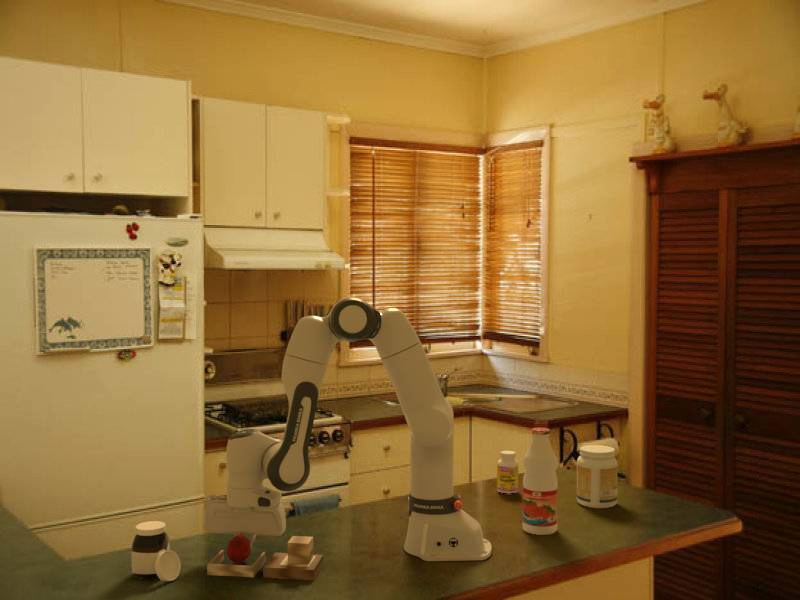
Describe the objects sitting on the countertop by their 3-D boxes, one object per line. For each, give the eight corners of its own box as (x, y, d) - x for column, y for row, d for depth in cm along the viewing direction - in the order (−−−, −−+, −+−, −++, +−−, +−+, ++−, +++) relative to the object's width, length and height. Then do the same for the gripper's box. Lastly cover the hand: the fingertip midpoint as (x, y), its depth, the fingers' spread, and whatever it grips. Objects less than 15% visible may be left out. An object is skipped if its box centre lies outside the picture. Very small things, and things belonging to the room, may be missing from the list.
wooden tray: (323, 565, 206) (323, 554, 206) (313, 580, 196) (313, 569, 196) (221, 559, 209) (221, 549, 209) (207, 574, 199) (207, 563, 199)
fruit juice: (561, 527, 235) (562, 427, 233) (551, 537, 226) (552, 433, 225) (528, 522, 239) (529, 424, 237) (517, 532, 230) (518, 430, 229)
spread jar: (142, 566, 205) (141, 518, 204) (188, 566, 205) (188, 519, 204) (124, 585, 193) (123, 535, 192) (173, 586, 193) (173, 535, 192)
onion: (245, 570, 203) (247, 538, 202) (222, 567, 203) (224, 535, 203) (253, 561, 208) (255, 529, 207) (230, 558, 209) (232, 526, 208)
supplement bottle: (496, 494, 268) (496, 454, 267) (497, 488, 274) (497, 449, 273) (517, 495, 266) (518, 455, 266) (518, 489, 273) (518, 450, 272)
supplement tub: (616, 499, 262) (617, 445, 261) (617, 510, 250) (618, 454, 250) (576, 496, 265) (577, 443, 264) (575, 507, 253) (576, 452, 252)
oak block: (313, 557, 203) (313, 536, 203) (308, 564, 198) (308, 543, 198) (292, 556, 204) (292, 535, 204) (287, 563, 199) (287, 542, 199)
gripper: (199, 497, 207) (199, 553, 207) (281, 500, 204) (281, 557, 205) (208, 490, 213) (208, 544, 214) (287, 493, 210) (288, 548, 211)
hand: (245, 551), depth 209 cm, fingers closed
